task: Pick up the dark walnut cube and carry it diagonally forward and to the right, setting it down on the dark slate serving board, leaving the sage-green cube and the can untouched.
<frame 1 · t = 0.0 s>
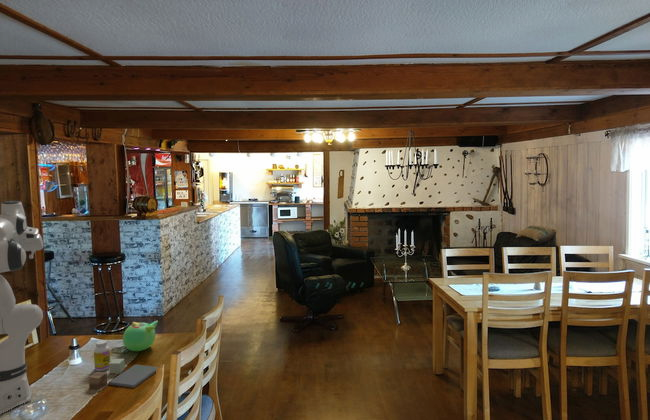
hand: (19, 258, 212), 52 cm above the table, tool tilted 20°, fingers open, 8 cm apart
sage cube: (117, 371, 208), on the table
supplement bottle: (102, 368, 211), on the table
slate board: (134, 376, 202), on the table
walnut cube: (98, 385, 194), on the table
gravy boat: (141, 349, 234), on the table
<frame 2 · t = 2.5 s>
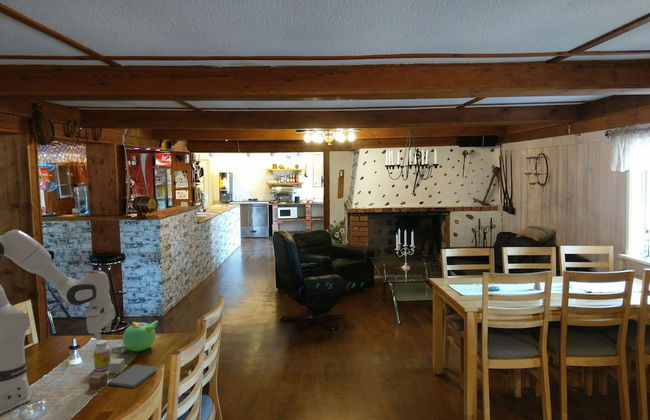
hand: (103, 335, 200), 20 cm above the table, tool pointing down, fingers open, 8 cm apart
nothing on the table moved.
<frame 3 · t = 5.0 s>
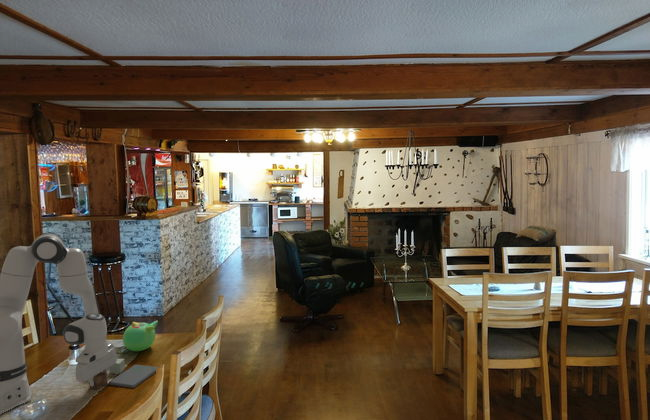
hand: (98, 382, 194), 2 cm above the table, tool pointing down, fingers closed on walnut cube, 5 cm apart
walnut cube: (98, 385, 194), on the table, touching gripper
everything else where it was.
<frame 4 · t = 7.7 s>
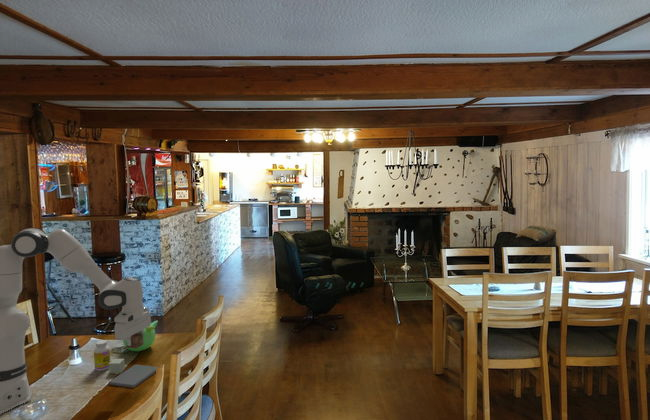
hand: (134, 342, 202), 16 cm above the table, tool pointing down, fingers closed on walnut cube, 5 cm apart
walnut cube: (135, 345, 202), point 14 cm above the table, touching gripper
everything else where it was.
when the fingers open (4 cm above the table, at t = 10.1 s): walnut cube drops 2 cm, resting on slate board.
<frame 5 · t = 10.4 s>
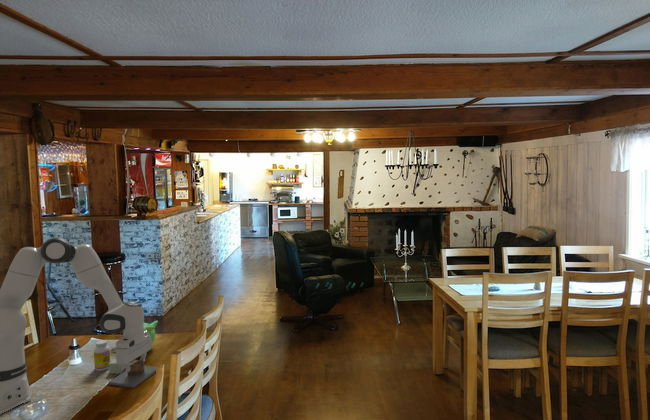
hand: (135, 366, 203), 4 cm above the table, tool pointing down, fingers open, 8 cm apart
walnut cube: (136, 373, 203), point 1 cm above the table, touching slate board
everything else where it was.
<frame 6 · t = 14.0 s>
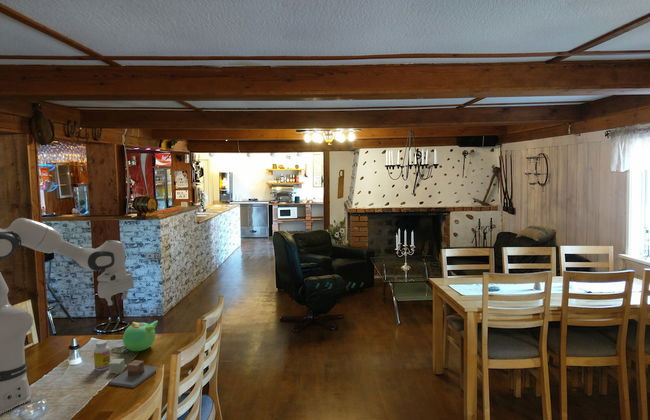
hand: (117, 302, 212), 31 cm above the table, tool pointing down, fingers open, 8 cm apart
nothing on the table moved.
at the end: walnut cube inside the target area on the slate board (0.9 cm from its centre), point 1.2 cm above the slate board's base; walnut cube tilted 0°; the gripper is holding nothing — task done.
